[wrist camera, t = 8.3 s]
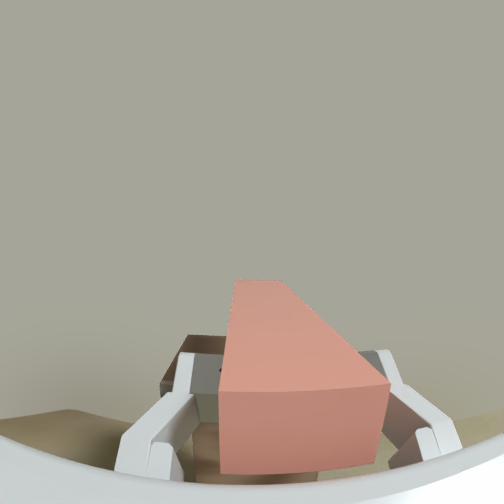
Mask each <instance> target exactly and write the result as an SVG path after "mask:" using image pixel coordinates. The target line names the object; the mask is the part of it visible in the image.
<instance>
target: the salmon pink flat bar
mask: <svg viewBox="0 0 504 504" xmlns="http://www.w3.org/2000/svg"><path fill="white" fill-rule="evenodd" d="M390 388H391V383H390V382H389V381H388V380H387V379H386V378H385V377H384V376H383V375H382V374H381V373H380V372H379V371H377V370H376V369H375V368H374V367H373V366H372V365H371V364H370V363H369V362H368V361H367V360H366V359H365V358H363V357H362V356H361V355H360V354H359V353H358V352H357V351H356V350H355V349H354V348H352V346H351V345H349V344H348V343H347V342H346V341H345V340H344V339H343V338H342V337H341V336H340V335H339V334H338V333H336V332H335V331H334V330H333V329H332V328H331V327H330V326H329V325H328V324H327V323H326V322H325V321H324V320H323V319H322V318H320V317H319V316H318V315H317V314H316V313H315V312H314V311H313V310H312V309H311V308H310V307H309V306H308V305H306V304H305V303H304V302H303V301H302V300H301V299H300V298H299V297H298V296H297V295H296V294H295V293H294V292H292V291H291V290H290V289H289V288H288V287H287V286H286V285H285V284H284V283H283V282H282V281H269V280H235V287H234V293H233V300H232V306H231V312H230V318H229V325H228V332H227V338H226V344H225V351H224V357H223V364H222V370H221V377H220V384H219V390H218V401H219V446H220V474H238V475H260V474H288V473H303V472H314V471H324V470H333V469H341V468H348V467H354V466H361V465H366V464H372V463H374V460H375V456H376V452H377V448H378V444H379V440H380V436H381V432H382V428H383V423H384V418H385V414H386V409H387V404H388V399H389V393H390Z"/></svg>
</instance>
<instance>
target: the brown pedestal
mask: <svg viewBox="0 0 504 504" xmlns="http://www.w3.org/2000/svg"><path fill="white" fill-rule="evenodd" d="M226 338H227V336H207V335H188V336H187V337H186V339H185V341H184V343H183V345H182V346H181V348H180V350H179V351H178V353H177V355H176V356H175V358H174V360H173V362H172V363H171V365H170V367H169V369H168V370H167V372H166V374H165V376H164V377H163V379H162V381H161V382H160V394H161V398H162V397H163V396H164V395H165V394H166V393H167V392H172V389H173V383H174V377H175V372H176V366H177V361H178V356H179V354H180V352H185V353H201V354H216V355H224V351H225V344H226ZM192 438H193V452H194V464H195V475H196V483H205V484H225V485H271V484H292V483H305V482H315V481H317V477H318V472H319V471H314V472H303V473H288V474H260V475H238V474H220V446H219V423H205V422H200V424H199V425H198V427H197V428H196V429H195V431H194V432H193V433H192Z"/></svg>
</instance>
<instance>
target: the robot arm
mask: <svg viewBox="0 0 504 504" xmlns="http://www.w3.org/2000/svg"><path fill="white" fill-rule="evenodd" d="M358 353H359V354H360V355H361V356H362V357H363V358H365V359H366V360H367V361H368V362H369V363H370V364H371V365H372V366H373V367H374V368H375V369H376V370H377V371H379V372H380V373H381V374H382V375H383V376H384V377H385V378H386V379H387V380H388V381H389V382H390V383H391V388H390V393H389V399H388V404H387V409H386V414H385V418H384V423H383V428H382V432H383V434H384V435H385V436H386V437H387V438H388V439H389V440H390V441H391V442H392V443H393V444H394V445H395V446H396V448H397V449H398V451H397V452H396V453H395V454H394V455H393V456H392V457H391V458H390V460H389V461H388V464H389V468H390V470H385V471H381V472H376V473H371V474H365V475H359V476H353V477H347V478H340V479H333V480H325V481H315V482H305V483H292V484H271V485H225V484H205V483H192V482H184V471H183V469H182V467H181V465H180V462H179V460H178V458H177V456H176V453H177V452H178V451H179V450H180V448H181V447H182V446H183V445H184V443H185V442H186V441H187V440H188V438H189V437H190V436H191V434H192V433H193V432H194V431H195V429H196V428H197V427H198V425H199V424H200V422H205V423H219V401H218V390H219V384H220V377H221V370H222V364H223V357H224V355H216V354H201V353H185V352H180V354H179V356H178V361H177V366H176V372H175V377H174V383H173V389H172V392H167V393H166V394H165V395H164V396H163V397H162V398H161V399H160V400H159V401H158V402H157V403H156V404H155V405H154V406H153V407H152V408H151V409H149V410H148V411H147V412H146V413H145V414H144V415H143V416H142V417H141V418H140V419H139V420H138V421H137V422H136V423H135V424H134V425H133V426H132V427H130V428H129V429H128V430H127V431H126V432H125V433H124V434H123V435H122V437H121V442H120V446H119V450H118V455H117V459H116V464H115V469H114V471H111V470H107V469H103V468H98V467H94V466H90V465H86V464H82V463H79V462H75V461H72V460H68V459H65V458H61V457H58V456H55V455H52V454H49V453H46V452H43V451H40V450H37V449H34V448H32V447H29V446H26V445H24V444H21V443H18V442H16V441H13V440H11V439H8V438H6V437H4V436H1V435H0V504H504V432H503V433H500V434H498V435H496V436H494V437H491V438H489V439H486V440H484V441H481V442H479V443H476V444H474V445H471V446H468V447H466V448H462V445H461V443H460V440H459V437H458V435H457V432H456V429H455V427H454V424H453V422H452V420H451V419H450V418H449V417H448V416H446V415H445V414H444V413H443V412H441V411H440V410H439V409H437V408H436V407H435V406H434V405H432V404H431V403H430V402H429V401H427V400H426V399H425V398H423V397H422V396H421V395H420V394H418V393H417V392H416V391H415V390H413V389H412V388H411V387H410V386H408V385H403V382H402V380H401V377H400V375H399V372H398V369H397V367H396V365H395V362H394V360H393V357H392V355H391V352H390V351H389V350H377V351H363V352H358Z"/></svg>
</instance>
